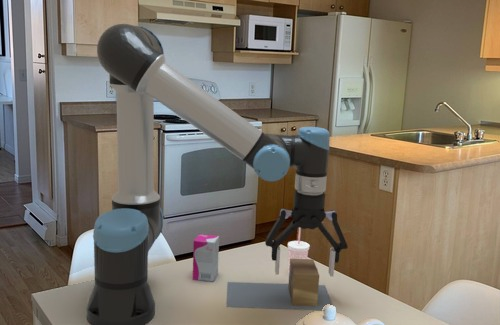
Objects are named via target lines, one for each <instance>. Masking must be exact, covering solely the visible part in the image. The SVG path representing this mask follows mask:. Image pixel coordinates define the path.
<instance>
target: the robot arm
mask: <svg viewBox="0 0 500 325" xmlns="http://www.w3.org/2000/svg"><path fill="white" fill-rule="evenodd" d="M96 52H97V53H96V55H97V58H98V61H99V63H100V65H101V67H102V68H103V69H104V70H105V72H106V73H107V74H109V75H108V76H109V86H110V87H111V88H112V89H113V90H114V91H115V93H116V132H117V133H116V134H117V135H116V141H117V142H116V143H117V146H116V147H117V148H116V149H117V150H116V151H117V191H116V192H115V193H114V194H113V195H112V196H111V210H110V211H106V212H103V213H102V214H100V215H99V216H97V218H96V219H95V221H94V222H95V223H94V224H93V226H94V228H93V235H92V237H93V252H94V253H93V255H94V256H93V258H94V260H93V262H94V263H93V264H94V285H93V288H92V291H91V294H90V297H89V300H88V303H87V304H86V305H87V306H86V318H87V320H88V322H89V324H91V325H146V324H147V323H149V322H150V321H151V320H152V319H153V318H154V316H155V313H156V302H155V298H154V296H153V293H152V290H151V286H150V285H149V280H148V276H149V275H148V272H149V270H148V268H149V267H148V266H149V264H148V263H149V262H148V260H149V252H150V250H151V248H152V247H153V245H154V244H155V242H156V240H157V239H158V238H159V236H161V233H162V230H163V227H164V214H163V210H162V208H161V196H160V194H159V193H158V191H156V190H155V187H154V186H155V181H154V180H155V178H154V177H155V176H154V175H155V171H154V170H155V165H154V163H155V162H154V161H155V156H154V155H155V154H154V153H155V147H154V146H155V145H154V144H155V143H154V142H155V141H154V138H155V137H154V136H155V135H154V134H155V132H154V130H155V129H154V123H155V122H154V119H155V118H154V117H155V116H154V115H155V113H154V112H155V110H154V109H155V108H154V106H155V104H154V99H155V100H156V101H157V102H159V103H160V104H161V105H163V106H165V107H166V108H168V109H169V110H170V111H172V112H173V113H174V114H175V115H177V116H179V118H181V119H183V120H184V121H185V122H187V123H189V124H190V125H192V127H194V128H196V130H197V129H198V130H199V131H200V132H202V133H203V134H204V135H206V136H207V137H209V138H210V139H211V140H213V141H214V142H215V143H217V144H219V146H221V147H223V148H224V149H226V150H227V151H229V153H231V154H232V155H234V156H236V157H237V158H238V159H240V160H241V161H243V162H244V163H245V164H246V165H247V166H249V167H250V168H252V169H253V170H254V172H255V173H256V175H257V176H258V177H259V178H260V179H261V180H264V181H266V182H277V181H279V180H281V179H283V178H284V177H285V176H286V175H287V174H288V171H289V168H290V167H295V178H294V189H295V191H294V192H293V193H294V194H293V205H292V206H293V207H292V209H291V210H289V209H286V208H284V207H282V208H280V210H279V214H278V217H277V219H276V221H275V223H274V224H273V226H272V227H271V229H270V231H269V232H268V234H267V235H266V238H265V240H264V242H265V243H264V244H265V245H266V247H270V248H271V257H270V258H271V261H275V263H274V264H275V266H274V272H275V275H280V263H281V262H280V260H281V247H280V246H281V245H282V244H283V243H284V242H285V241H286V240H287V239H288V238H289V237H290V236H291V235H292V234H293V233H294V232H295V231H296V230H298V229H299V227H300V228H301V230H306V229H309V230H315V229H318V230H319V231H320V232H321V233H322V235H323V236H324V238H325V239H326V240H327V241H328V242H329V244H330V245H331V246H332V247H330V250H329V261H328V274H329V276H330V277H334V273H335V263H336V264H338V263H339V261H340V252H341V251H342V250H346V249H348V244H347V242H346V239H345V236H344V234H343V231H342V230H341V226H340V225H339V222H338V213H337V212H336V210H334V209H332V210H330V211H325V208H326V207H325V203H326V194H325V192H326V191H327V179H328V178H327V177H328V169H329V168H328V166H329V156H330V137H331V136H330V132H329V130H328V129H326V128H323V127H317V126H301V127H300V128H299V129H298V131H297V134H293V135H292V134H291V135H290V134H275V133H265V132H263V131H262V130H261V129H259V128H258V127H257V126H255V125H253V124H252V123H250V122H249V121H247V119H245V118H244V117H242V116H241V115H239V114H238V113H237V112H236V111H234V110H232V109H231V108H230V107H228V106H227V105H226V104H224V103H223V102H221V101H220V100H219V99H217V98H216V97H214V96H213V95H212V94H210V92H207V91H206V90H205V89H203V88H202V87H201V86H199V85H198V84H196V83H195V82H194V81H192V80H190V79H189V78H188V77H187V76H185V75H184V74H183V73H181V72H179V71H178V70H177V69H175V68H174V67H173V66H172V65H170V64H169V63H168V62H167V61H166V57H165V53H164V52H165V50H164V46H163V44H162V42H161V40H160V39H159V37H158V36H157V35H156V33H154V32H153V31H152V30H150V29H148V28H146V27H143V26H138V25H133V24H128V23H117V24H114V25H111V26H110V27H109V28H107V29H105V30H104V31H103V32H102V34H101V36H99V39H98V41H97V46H96ZM290 216H291V218H292V220H291V222H290V223H289V224H288V226H287V227H286V228H284V229H283V230H282V231H281V232H280V234H278V233H279V231H280V230H281V228H282V226H283V225H284V223H285V220H286V219H288V218H289V217H290ZM326 218H327V219H328V220H329V221H331V223H332V226H333V228H334V230H335V233H336V235H337V237H338V240H339V242H337V241H336V239H335V238H334V236H332V234H331V233H330V232H329V230H328V229H327V228H326V226H324V224H323V221H324V220H325V219H326ZM277 235H278V236H277ZM276 236H277V237H276ZM275 237H276V238H275Z"/></svg>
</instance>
